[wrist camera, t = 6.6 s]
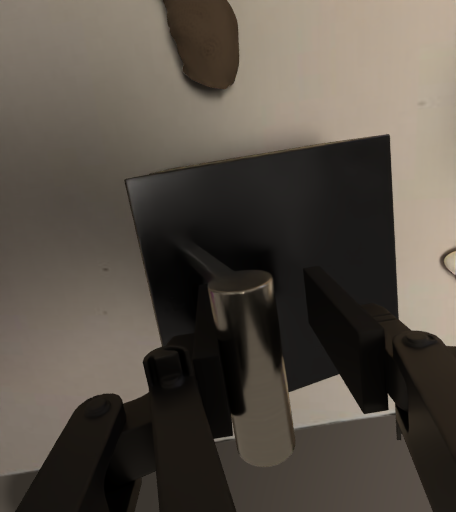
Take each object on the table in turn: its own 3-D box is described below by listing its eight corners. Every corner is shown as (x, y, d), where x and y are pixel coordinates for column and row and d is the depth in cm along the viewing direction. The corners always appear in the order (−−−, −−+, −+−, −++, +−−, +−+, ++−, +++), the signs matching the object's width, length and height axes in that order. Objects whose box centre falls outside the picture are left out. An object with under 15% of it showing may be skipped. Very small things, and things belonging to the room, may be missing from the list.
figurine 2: (130, -53, 28) (177, 112, 30) (110, -99, 23) (167, 99, 25) (215, -81, 27) (256, 89, 29) (211, -133, 23) (260, 72, 25)
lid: (179, 422, 20) (228, 577, 12) (123, 178, 17) (142, 180, 9) (391, 346, 24) (532, 429, 16) (379, 135, 20) (549, 109, 13)
